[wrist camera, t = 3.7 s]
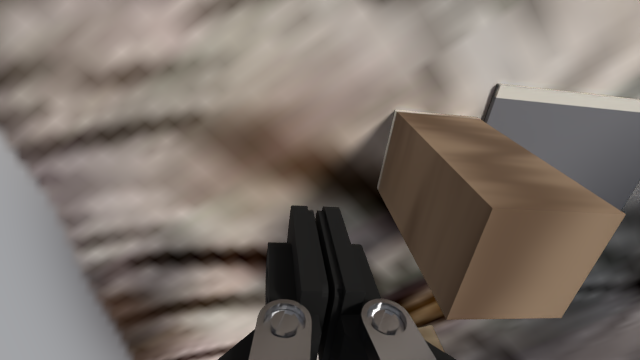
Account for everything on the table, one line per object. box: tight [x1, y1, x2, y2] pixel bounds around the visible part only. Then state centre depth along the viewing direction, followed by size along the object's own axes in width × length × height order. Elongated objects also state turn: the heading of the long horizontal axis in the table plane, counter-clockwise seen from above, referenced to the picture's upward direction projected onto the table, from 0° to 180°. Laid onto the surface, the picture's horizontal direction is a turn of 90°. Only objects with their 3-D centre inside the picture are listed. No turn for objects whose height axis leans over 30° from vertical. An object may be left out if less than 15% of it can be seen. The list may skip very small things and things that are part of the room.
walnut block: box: [377, 110, 626, 320], centre depth 17 cm, size 5×5×10 cm
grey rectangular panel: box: [484, 84, 640, 211], centre depth 23 cm, size 12×9×1 cm
